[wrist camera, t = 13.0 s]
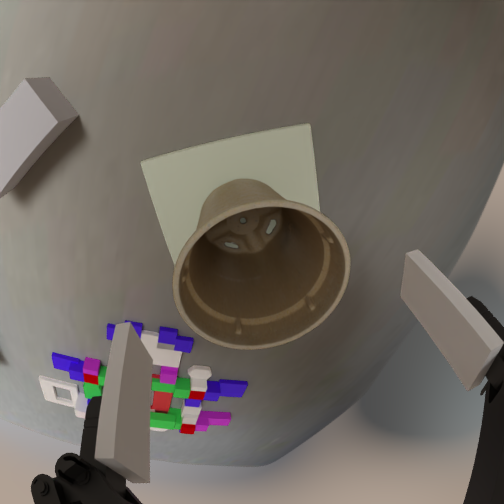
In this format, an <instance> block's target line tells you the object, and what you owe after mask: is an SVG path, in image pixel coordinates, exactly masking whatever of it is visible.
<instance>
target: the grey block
mask: <svg viewBox="0 0 504 504" xmlns="http://www.w3.org/2000/svg"><path fill="white" fill-rule="evenodd" d="M78 116H79V114H78V113H77V112H76V110H75V109H74V108H73V107H72V105H71V104H70V103H69V102H68V100H67V99H66V98H65V96H64V95H63V94H62V93H61V91H60V90H59V89H58V87H57V86H56V85H55V84H54V82H53V81H52V80H51V78H50V77H42V78H25V79H24V80H23V81H22V82H21V83H20V85H19V86H18V87H17V88H16V89H15V91H14V92H13V93H12V94H11V95H10V97H9V98H8V99H7V101H6V102H5V103H4V104H3V106H2V107H1V108H0V198H1V197H3V196H4V195H5V194H7V193H8V192H9V191H10V190H12V189H13V188H14V187H16V186H17V184H18V183H19V182H20V180H21V179H22V178H23V177H24V175H25V174H26V173H27V172H28V170H29V169H30V168H31V167H32V166H33V164H34V163H35V162H36V161H37V160H38V158H39V157H40V156H41V155H42V154H43V153H44V151H45V150H46V149H47V148H48V147H49V146H50V145H51V144H52V143H53V141H54V140H55V139H56V138H57V137H58V136H59V135H60V134H61V133H62V132H63V131H64V130H65V129H66V128H67V127H68V126H69V125H70V124H71V123H72V122H73V121H74V120H75V119H76V118H77V117H78Z"/></svg>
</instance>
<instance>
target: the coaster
mask: <svg viewBox="0 0 504 504" xmlns="http://www.w3.org/2000/svg"><path fill="white" fill-rule="evenodd" d="M140 164H141V167H142V170H143V173H144V177H145V180H146V183H147V186H148V190H149V193H150V196H151V199H152V202H153V205H154V208H155V211H156V214H157V217H158V220H159V223H160V226H161V229H162V232H163V235H164V238H165V240H166V243H167V246H168V249H169V252H170V254H171V257H172V260H173V263H174V265H175V264H176V261H177V258H178V256H179V253H180V251H181V249H182V248H183V246H184V245H185V243H186V242H187V240H188V239H189V238H190V237H191V235H192V234H193V233H194V232H195V231H196V228H197V225H198V221H199V217H200V212H201V208H202V206H203V204H204V202H205V200H206V198H207V197H208V196H209V194H210V193H211V192H212V191H213V190H214V189H216V188H217V187H219V186H221V185H223V184H225V183H227V182H229V181H232V180H235V179H243V178H244V179H254V180H258V181H261V182H263V183H265V184H267V185H268V186H270V187H271V188H272V189H273V190H274V191H276V192H277V193H278V194H280V195H281V196H282V197H284V198H285V199H286V200H290V201H295V202H299V203H302V204H305V205H308V206H310V207H312V208H314V209H316V210H318V211H319V212H320V206H319V195H318V185H317V176H316V167H315V158H314V150H313V142H312V134H311V126H310V124H309V123H304V124H298V125H292V126H286V127H280V128H275V129H269V130H264V131H259V132H253V133H249V134H244V135H239V136H234V137H230V138H225V139H221V140H216V141H212V142H208V143H204V144H200V145H196V146H192V147H188V148H184V149H180V150H177V151H173V152H169V153H166V154H162V155H159V156H155V157H152V158H148V159H145V160H142V161H141V162H140ZM240 222H241V223H245V222H246V220H245V218H241V219H240ZM275 225H276V221H275V220H271V222H270V224H269V226H268V229H267V231H266V233H268V234H270V233H271V232H272V229H273V228H274V227H275ZM225 245H226V246H228V247H232V248H238V245H235V244H233V243H227V242H226V243H225Z"/></svg>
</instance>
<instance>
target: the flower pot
mask: <svg viewBox="0 0 504 504" xmlns="http://www.w3.org/2000/svg"><path fill="white" fill-rule="evenodd" d="M241 218H245V220H246V222H245V223H241V222H240V219H241ZM271 220H275V221H276V225H275V227H274V228H273V229H272V232H271V233H270V234H268V233H266V231H267V229H268V226H269V224H270V222H271ZM226 242H227V243H233V244H235V245H238V248H232V247H228V246H226V245H225V243H226ZM350 264H351V260H350V253H349V249H348V245H347V243H346V240H345V238H344V236H343V234H342V233H341V231H340V230H339V229H338V227H337V226H336V225H335V224H334V223H333V222H332V221H331V220H330V219H329V218H328V217H326V216H325V215H324V214H322V213H321V212H319V211H318V210H316V209H314V208H312V207H310V206H308V205H305V204H302V203H299V202H295V201H290V200H286V199H285V198H284V197H282V196H281V195H280V194H278V193H277V192H276V191H274V190H273V189H272V188H271V187H270V186H268V185H267V184H265V183H263V182H261V181H258V180H254V179H244V178H243V179H235V180H232V181H229V182H227V183H225V184H223V185H221V186H219V187H217V188H216V189H214V190H213V191H212V192H211V193H210V194H209V196H208V197H207V198H206V200H205V202H204V204H203V206H202V208H201V212H200V217H199V221H198V225H197V228H196V231H195V232H194V233H193V234H192V235H191V237H190V238H189V239H188V240H187V242H186V243H185V245H184V246H183V248H182V249H181V251H180V253H179V256H178V258H177V261H176V264H175V268H174V272H173V282H172V288H173V297H174V301H175V304H176V307H177V309H178V311H179V314H180V315H181V317H182V318H183V320H184V321H185V322H186V324H187V325H188V326H189V327H190V328H191V329H192V330H193V331H194V332H196V334H198V335H200V336H201V337H203V338H204V339H206V340H207V341H210V342H212V343H214V344H218V345H220V346H224V347H227V348H233V349H243V350H245V349H249V350H251V349H252V350H253V349H264V348H271V347H275V346H279V345H282V344H285V343H288V342H291V341H293V340H295V339H298V338H299V337H301V336H303V335H305V334H307V333H308V332H310V331H311V330H313V329H314V328H315V327H317V326H318V325H319V324H321V323H322V322H323V321H324V320H325V319H326V318H327V317H328V316H329V315H330V314H331V313H332V312H333V310H334V309H335V308H336V306H337V305H338V303H339V302H340V300H341V298H342V296H343V294H344V292H345V289H346V286H347V284H348V280H349V274H350V267H351V266H350Z"/></svg>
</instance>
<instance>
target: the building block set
mask: <svg viewBox="0 0 504 504" xmlns="http://www.w3.org/2000/svg"><path fill="white" fill-rule="evenodd" d="M126 322H131V324H132V326H133V327H134V329H135V331H136V333H137V334H138V336H139V338H140V339H141V341H142V343H143V344H144V346H145V348H146V349H147V351H148V353H149V354H150V356H151V357H152V359H153V364H155V365H161V371H160V375H156V374H152V383H151V390H153V391H154V398H153V405H152V406H151V405H150V429H151V430H155V431H166V430H168V429H172V430H174V429H179V432H180V433H184V434H194V431H206V430H207V428H208V426H209V425H226V426H228V424H229V422H230V421H231V416H230V412H212V411H201V408H202V405H201V400H208V401H218V399H219V396H227V397H242V395H243V393H244V391H245V389H246V388H247V386H248V383H247V381H236V380H223V379H220V380H219V382H217V381H207V379H208V378H210V377H211V376H212V372H211V369H210V367H208V366H199V365H193V366H192V367H190V368H189V369H188V374H189V375H190V377H191V378H190V379H187V378H179V377H177V372H178V367H179V363H180V359H181V355H182V352H187V353H190V352H191V349H192V345H193V338H191V337H184V336H177V332H178V329H173V328H167V327H161V326H160V331H159V333H158V332H152V331H146V330H142V323H137V322H132V321H126V320H125V323H126ZM115 326H116V325H113V324H108V325H107V339H108V340H113V335H114V330H115ZM141 331H142V333H141ZM52 360H53V365H54V368H56V369H60V370H64V371H68V372H69V374H70V379H74V380H78V381H82V382H84V385H83V387H84V393H80V392H79V391H78V385H77V384H72V383H68V382H64V381H60V380H56V379H53V378H49V377H45V376H42V375H39V381H40V384H41V388H42V391H43V394H44V397H45V400H47V401H51V402H55V403H58V404H62V405H66V406H70V407H74V408H75V414H76V417H80V418H85V415H86V409H87V406H88V404H89V402H90V400H91V398H92V397H94V396H102V394H103V389H102V386H104V382H105V376H106V370H107V367H105V366H100V360H97V359H92V358H88V357H86V358H85V361H81V360H79V359H78V358H74V357H70V356H66V355H62V354H58V353H54V352H53V353H52ZM54 386H55V387H59V388H63V389H67V390H70V392H71V397H72V400H68V399H64V398H60V397H57V394H56V391H55V387H54ZM172 394H173V397H177V398H184V400H183V403H182V407H181V409H176V408H169V407H170V403H171V398H172Z"/></svg>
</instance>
